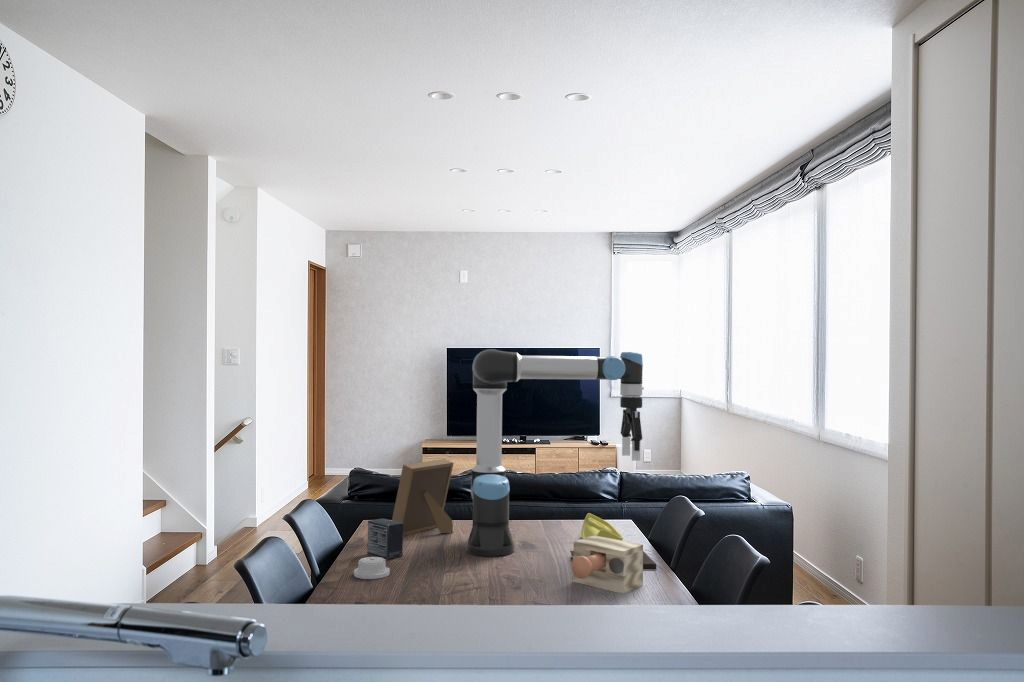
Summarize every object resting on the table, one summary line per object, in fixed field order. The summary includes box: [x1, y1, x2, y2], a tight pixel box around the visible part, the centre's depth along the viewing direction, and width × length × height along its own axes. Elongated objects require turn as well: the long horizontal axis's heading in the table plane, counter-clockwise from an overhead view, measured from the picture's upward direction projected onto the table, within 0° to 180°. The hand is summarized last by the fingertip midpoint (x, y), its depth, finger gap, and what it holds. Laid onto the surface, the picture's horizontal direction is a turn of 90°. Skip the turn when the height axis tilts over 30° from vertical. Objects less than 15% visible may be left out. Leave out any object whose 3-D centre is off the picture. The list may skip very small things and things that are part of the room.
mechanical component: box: [353, 556, 391, 580], centre depth 207 cm, size 10×4×10 cm
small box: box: [366, 517, 404, 561], centre depth 228 cm, size 11×6×10 cm, turn 47°
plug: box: [570, 552, 606, 579], centre depth 195 cm, size 12×6×6 cm, turn 140°
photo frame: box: [391, 458, 454, 537], centre depth 259 cm, size 15×22×25 cm
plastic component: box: [580, 512, 624, 541], centre depth 252 cm, size 20×7×10 cm
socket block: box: [572, 535, 644, 595], centre depth 201 cm, size 11×16×11 cm
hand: (630, 458), depth 254 cm, fingers open, 13 cm apart
